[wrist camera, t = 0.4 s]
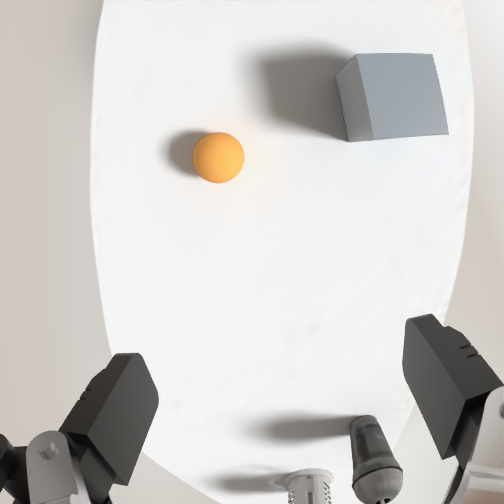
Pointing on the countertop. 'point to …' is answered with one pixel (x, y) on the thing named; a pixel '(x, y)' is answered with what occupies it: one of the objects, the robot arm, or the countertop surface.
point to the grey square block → (391, 97)
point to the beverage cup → (373, 463)
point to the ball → (218, 157)
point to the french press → (309, 486)
